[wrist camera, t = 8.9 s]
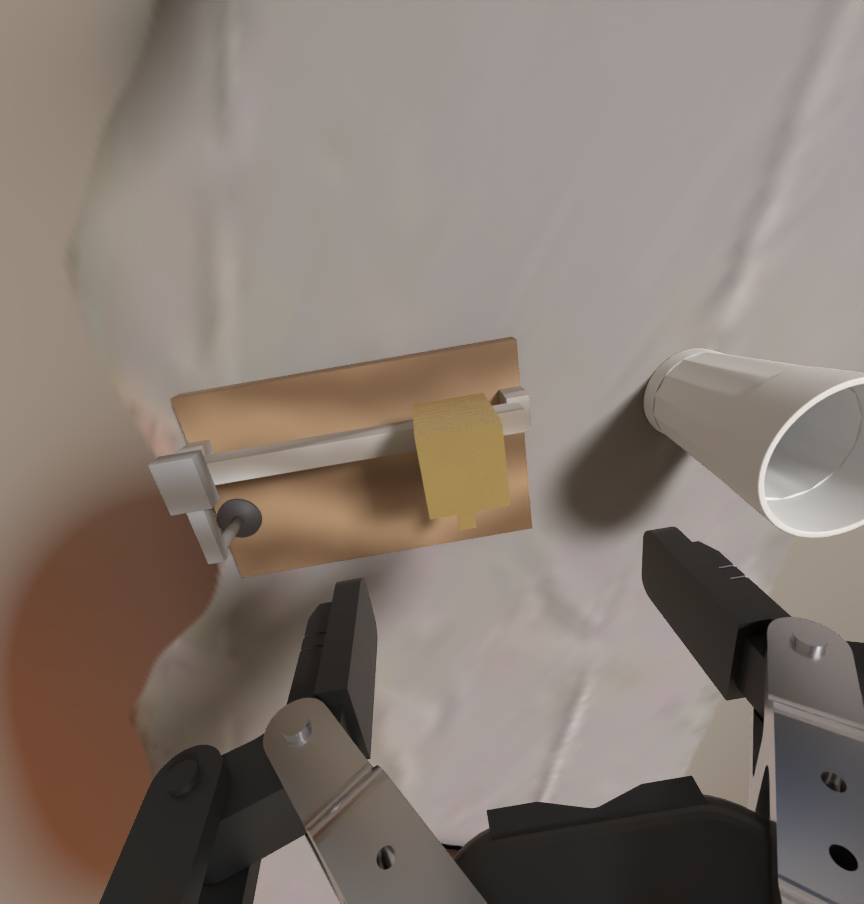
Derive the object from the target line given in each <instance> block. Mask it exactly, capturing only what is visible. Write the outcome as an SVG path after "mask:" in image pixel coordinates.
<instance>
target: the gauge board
mask: <svg viewBox="0 0 864 904" xmlns="http://www.w3.org/2000/svg"><path fill="white" fill-rule="evenodd" d="M478 393H484V395H485V396H486V398H487V399H488V401H489V402H490V404H491V405H492V407H493V408H494V410H495V411H496V413H497V414H498V416H499V418H500V419H501V421H502V426H503V436H504V446H505V455H506V465H507V475H508V484H509V494H510V504H511V506H506V507H500V508H495V509H489V510H483V511H477V512H474V513H475V520H476V527H477V528H472V529H466V530H460V528H459V523H458V517H457V515H454V516H448V517H442V518H436V519H430V518H429V512H428V507H427V502H426V496H425V491H424V486H423V480H422V475H421V470H420V464H419V459H418V454H417V448H416V443H415V438H414V425H413V412H412V405H415V404H420V403H426V402H432V401H438V400H444V399H449V398H455V397H461V396H467V395H473V394H478ZM170 400H171V402H172V405H173V407H174V410H175V412H176V415H177V417H178V420H179V422H180V425H181V427H182V430H183V432H184V435H185V437H186V440H187V442H188V443H187V444H186V445H185V446H184V447H182V448H181V449H180V450H179V451H178V452H176V453H175V454H173V455H167V456H161V457H158V458H157V459H156V460H155V461H153V462H152V463H151V464H149V465H148V466H149V468H150V470H151V473H152V475H153V477H154V479H155V481H156V483H157V486H158V488H159V490H160V493H161V495H162V497H163V499H164V501H165V504H166V506H167V508H168V510H169V513H170V515H178V514H183V513H186V514H187V516H188V518H189V521H190V523H191V525H192V527H193V530H194V532H195V534H196V537H197V539H198V541H199V544H200V546H201V548H202V551H203V553H204V554H205V557H206V560H207V562H208V564H213V563H219V562H225V560H226V558H227V557H228V555H229V552H228V548H229V546H230V549H231V551H232V553H233V556H234V558H235V561H236V563H237V566H238V568H239V571H240V573H241V576H242V578H244V577H250V576H255V575H261V574H267V573H273V572H279V571H285V570H291V569H296V568H302V567H308V566H314V565H320V564H326V563H331V562H337V561H343V560H349V559H355V558H361V557H367V556H372V555H378V554H384V553H390V552H396V551H402V550H408V549H413V548H419V547H425V546H431V545H437V544H443V543H448V542H454V541H460V540H466V539H472V538H478V537H484V536H489V535H495V534H501V533H507V532H513V531H519V530H524V529H530V528H532V521H531V509H530V497H529V485H528V473H527V461H526V449H525V437H524V432H527V429H526V426H531V413H530V400H529V394H528V393H527V392H526V391H525V390H524V389H523V388H522V387H521V386H520V377H519V365H518V354H517V342H516V339H515V338H513V337H508V338H502V339H496V340H490V341H485V342H479V343H473V344H467V345H461V346H456V347H450V348H444V349H438V350H432V351H427V352H421V353H415V354H409V355H403V356H398V357H392V358H386V359H380V360H375V361H369V362H363V363H357V364H351V365H346V366H340V367H334V368H328V369H322V370H317V371H311V372H305V373H299V374H293V375H288V376H282V377H276V378H270V379H264V380H259V381H253V382H247V383H241V384H235V385H230V386H224V387H218V388H212V389H207V390H201V391H195V392H189V393H183V394H179V395H177V396H175V397H173V398H171V399H170ZM213 507H214V509H215V511H216V514H217V521H218V524H219V526H220V527H221V528H222V530H223V531H224V532H223V533H222V535H221V532H220V530H219V527H218V525H217V522H216V520H215V517H214V515H213V513H212V510H211V509H212V508H213Z"/></svg>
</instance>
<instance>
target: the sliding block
mask: <svg viewBox="0 0 864 904" xmlns="http://www.w3.org/2000/svg"><path fill="white" fill-rule="evenodd" d="M412 412H413V425H414V438H415V443H416V448H417V454H418V459H419V464H420V470H421V475H422V480H423V486H424V491H425V496H426V502H427V507H428V512H429V518H430V519H436V518H442V517H448V516H454V515H457V517H458V523H459V528H460V530H466V529H472V528H477V527H476V520H475V513H474V512H477V511H483V510H489V509H495V508H500V507H506V506H511V504H510V494H509V484H508V475H507V465H506V455H505V446H504V436H503V426H502V421H501V419H500V418H499V416H498V414H497V413H496V411H495V410H494V408H493V407H492V405H491V404H490V402H489V401H488V399H487V398H486V396H485V395H484V393H478V394H473V395H467V396H461V397H455V398H449V399H444V400H438V401H432V402H426V403H420V404H415V405H412Z"/></svg>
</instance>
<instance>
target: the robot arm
mask: <svg viewBox="0 0 864 904" xmlns="http://www.w3.org/2000/svg"><path fill="white" fill-rule="evenodd" d="M642 581H643V585H644V588H645V591H646V593H647V595H648V596H649V598H650V599H651V601H652V602H653V603H654V605H655V606H656V607H657V609H658V610H659V611H660V613H661V614H662V615H663V617H664V618H665V619H666V621H667V622H668V623H669V625H670V626H671V627H672V629H673V630H674V631H675V633H676V634H677V635H678V637H679V638H680V639H681V641H682V642H683V643H684V645H685V646H686V647H687V649H688V650H689V651H690V653H691V654H692V655H693V657H694V658H695V659H696V661H697V662H698V663H699V665H700V666H701V667H702V669H703V670H704V671H705V673H706V674H707V675H708V677H709V678H710V679H711V681H712V682H713V683H714V685H715V686H716V687H717V689H718V690H719V691H720V693H721V694H722V695H723V697H724V698H725V699H726V700H732V699H738V698H744V697H746V699H747V700H748V701H749V702H750V703H751V705H752V711H751V726H750V728H751V729H750V774H749V775H750V777H749V797H748V806H747V808H745V807H743V806H741V805H739V804H736V803H734V802H731V801H728V800H725V799H722V798H718V797H713V796H710V795H703V794H702V793H701V791H700V789H699V787H698V786H697V784H696V782H695V780H694V778H693V777H692V776H687V777H681V778H675V779H669V780H663V781H657V782H651V783H646V784H641V785H639V786H637V787H635V788H633V789H632V790H630V791H628V792H626V793H624V794H622V795H620V796H618V797H617V798H615V799H613V800H611V801H609V802H607V803H605V804H604V805H602V806H600V807H597V808H583V807H575V806H567V805H559V804H551V803H543V802H533V803H527V804H521V805H515V806H509V807H503V808H498V809H492V810H487V815H488V821H489V829H487V830H485V831H483V832H481V833H480V834H478V835H477V836H475V837H474V838H473V839H471V840H470V841H469V842H468V843H467V844H465V845H464V846H463V847H462V848H461V849H460V850H459V851H458V853H457V854H456V855H455V856H454V858H453V859H452V857H451V856H450V855H449V853H448V852H447V851H446V850H445V848H444V847H443V846H442V844H441V843H440V842H439V840H438V839H437V838H436V837H435V835H434V834H433V833H432V831H431V830H430V829H429V828H428V826H427V825H426V824H425V822H424V821H423V820H422V819H421V817H420V816H419V815H418V813H417V812H416V811H415V810H414V808H413V807H412V806H411V804H410V803H409V802H408V801H407V799H406V798H405V797H404V795H403V794H402V793H401V792H400V790H399V789H398V788H397V786H396V785H395V784H394V783H393V781H392V780H391V779H390V777H389V776H388V775H387V774H386V773H385V771H384V770H383V769H382V768H381V767H379V766H375V767H373V766H372V765H371V764H370V763H369V762H368V760H367V759H370V754H371V737H372V721H373V704H374V688H375V671H376V655H377V628H376V622H375V617H374V613H373V610H372V606H371V602H370V598H369V595H368V591H367V587H366V584H365V581H364V579H363V578H359V579H353V580H347V581H341V582H337V583H336V585H335V590H334V595H333V600H332V602H329V603H323V604H319V606H318V607H317V608H316V610H315V611H314V613H313V614H312V615H311V617H310V618H309V620H308V624H307V628H306V632H305V638H304V639H303V643H302V647H301V652H300V655H299V659H298V663H297V667H296V670H295V674H294V678H293V682H292V686H291V690H290V694H289V698H288V701H287V704H286V706H284V707H283V708H282V709H281V710H279V711H278V712H277V713H276V714H275V715H274V717H273V718H272V719H271V720H270V722H269V724H268V726H267V728H266V730H265V733H264V734H262V735H261V736H260V737H258V738H256V739H254V740H253V741H251V742H249V743H246V744H244V745H242V746H240V747H238V748H236V749H234V750H232V751H230V752H228V753H226V754H224V755H221V754H220V752H219V751H218V750H217V749H216V748H215V747H213V746H210V745H198V746H194V747H191V748H189V749H186V750H184V751H183V752H181V753H179V754H178V755H176V756H175V757H174V758H172V759H171V760H170V761H169V762H168V763H167V764H166V765H165V766H164V767H163V768H162V769H161V770H160V771H159V772H158V774H157V775H156V776H155V778H154V779H153V781H152V783H151V785H150V787H149V789H148V791H147V793H146V796H145V798H144V800H143V803H142V805H141V807H140V810H139V812H138V814H137V817H136V819H135V821H134V824H133V826H132V829H131V831H130V833H129V835H128V838H127V840H126V842H125V845H124V847H123V849H122V852H121V854H120V856H119V859H118V861H117V863H116V866H115V868H114V870H113V873H112V875H111V877H110V880H109V882H108V884H107V887H106V889H105V891H104V894H103V896H102V898H101V901H100V903H99V904H253V901H254V895H255V890H256V884H257V879H258V874H259V868H260V863H261V859H262V858H264V857H266V856H267V855H269V854H271V853H273V852H274V851H276V850H278V849H280V848H282V847H283V846H285V845H287V844H289V843H290V842H292V841H294V840H296V839H298V838H299V837H301V836H303V835H305V837H306V839H307V841H308V843H309V845H310V847H311V849H312V851H313V853H314V855H315V856H316V858H317V860H318V862H319V864H320V866H321V868H322V870H323V872H324V874H325V876H326V877H327V879H328V881H329V883H330V885H331V887H332V889H333V891H334V893H335V895H336V897H337V899H338V900H339V902H340V904H864V643H859V642H849V641H845V640H844V639H843V638H842V637H841V636H840V635H839V634H837V633H836V632H834V631H833V630H831V629H829V628H828V627H826V626H824V625H822V624H819V623H817V622H814V621H811V620H807V619H803V618H796V617H791V616H790V615H789V614H788V613H787V612H786V611H784V610H783V609H782V608H781V607H780V606H779V605H778V604H776V603H775V602H774V601H773V600H772V599H771V598H770V597H769V596H768V595H767V594H766V593H764V592H763V591H762V590H761V589H760V588H759V587H758V586H757V585H756V584H754V583H753V582H752V581H751V580H750V579H749V578H746V577H745V575H744V574H743V573H742V572H741V571H740V570H739V569H738V568H737V567H734V566H733V564H732V563H731V562H730V561H729V560H728V559H727V558H725V557H724V556H723V555H722V554H721V553H720V552H719V551H717V550H715V549H713V548H711V547H709V546H707V545H705V544H703V543H701V542H699V541H697V542H691V541H690V540H689V539H688V538H687V537H686V536H685V535H684V534H683V533H682V532H681V531H680V530H679V529H677V528H676V527H667V528H661V529H655V530H649V531H646V532H645V533H644V536H643V556H642Z"/></svg>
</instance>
